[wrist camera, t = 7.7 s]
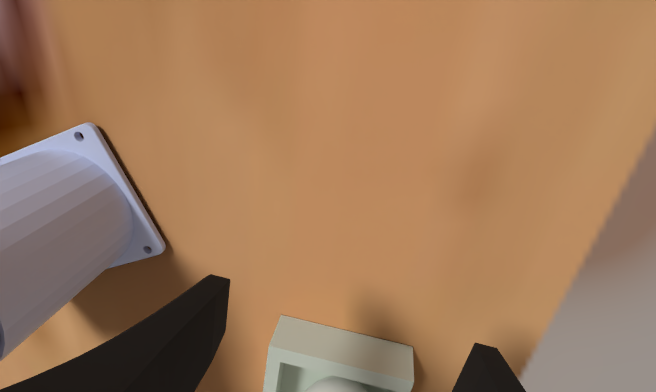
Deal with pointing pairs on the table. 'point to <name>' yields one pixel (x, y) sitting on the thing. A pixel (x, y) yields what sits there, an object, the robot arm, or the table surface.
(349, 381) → the white egg
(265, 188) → the table surface
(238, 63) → the table surface
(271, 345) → the carton
